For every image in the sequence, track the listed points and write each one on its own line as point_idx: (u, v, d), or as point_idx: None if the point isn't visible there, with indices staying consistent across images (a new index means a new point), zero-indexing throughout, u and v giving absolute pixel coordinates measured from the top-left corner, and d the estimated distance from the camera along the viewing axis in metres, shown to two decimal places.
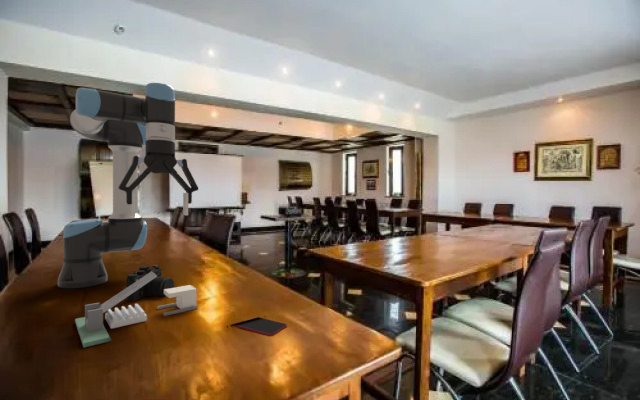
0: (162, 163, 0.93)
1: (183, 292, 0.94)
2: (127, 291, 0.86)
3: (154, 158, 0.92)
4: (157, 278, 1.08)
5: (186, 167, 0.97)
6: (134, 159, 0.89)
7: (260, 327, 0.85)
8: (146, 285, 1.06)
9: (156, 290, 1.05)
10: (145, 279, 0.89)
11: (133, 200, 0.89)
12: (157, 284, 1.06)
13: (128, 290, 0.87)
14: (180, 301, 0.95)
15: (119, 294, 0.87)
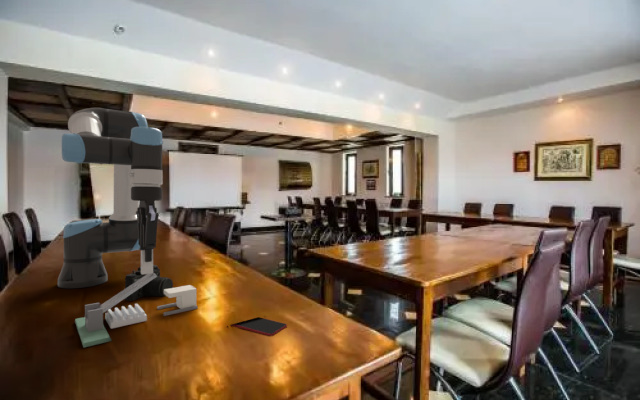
0: (142, 207, 0.89)
1: (183, 292, 0.94)
2: (127, 291, 0.86)
3: (140, 202, 0.91)
4: (156, 278, 1.08)
5: (146, 222, 0.85)
6: (136, 214, 0.93)
7: (260, 327, 0.85)
8: (145, 285, 1.06)
9: (155, 290, 1.05)
10: (145, 279, 0.89)
11: (141, 257, 0.89)
12: (156, 284, 1.06)
13: (128, 290, 0.87)
14: (180, 301, 0.95)
15: (119, 294, 0.87)
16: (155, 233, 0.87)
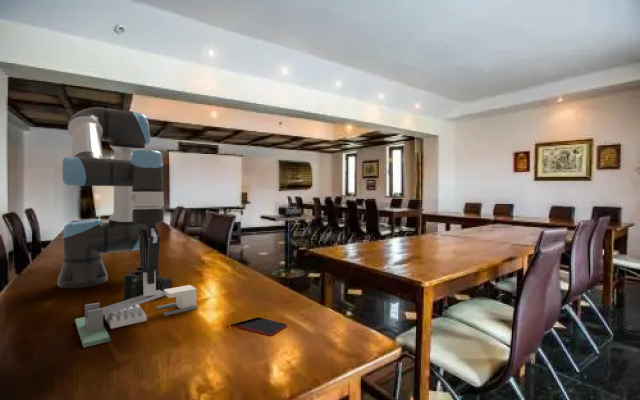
0: None
1: (183, 292, 0.94)
2: (132, 301, 0.87)
3: (141, 224, 0.91)
4: None
5: (148, 244, 0.86)
6: (138, 236, 0.94)
7: (260, 327, 0.85)
8: None
9: None
10: (152, 295, 0.90)
11: (143, 279, 0.90)
12: None
13: (134, 300, 0.88)
14: (180, 301, 0.95)
15: (123, 302, 0.87)
16: (157, 255, 0.87)
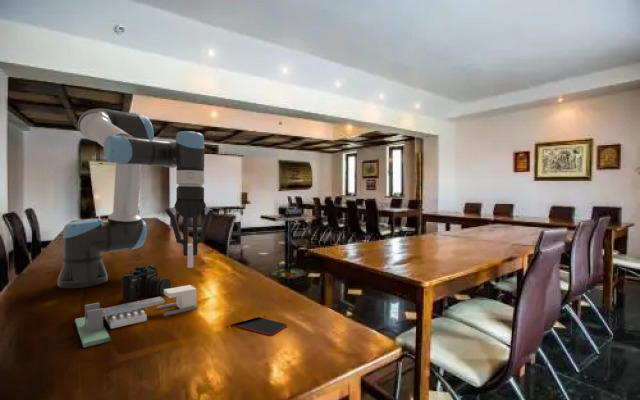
0: (192, 206, 0.96)
1: (183, 292, 0.94)
2: (133, 305, 0.87)
3: (181, 201, 0.95)
4: (153, 278, 1.08)
5: (208, 217, 0.98)
6: (168, 214, 0.94)
7: (260, 327, 0.85)
8: (142, 285, 1.06)
9: (153, 290, 1.05)
10: (153, 301, 0.91)
11: (188, 252, 0.96)
12: (153, 284, 1.06)
13: (134, 305, 0.88)
14: (180, 301, 0.95)
15: (124, 305, 0.87)
16: None
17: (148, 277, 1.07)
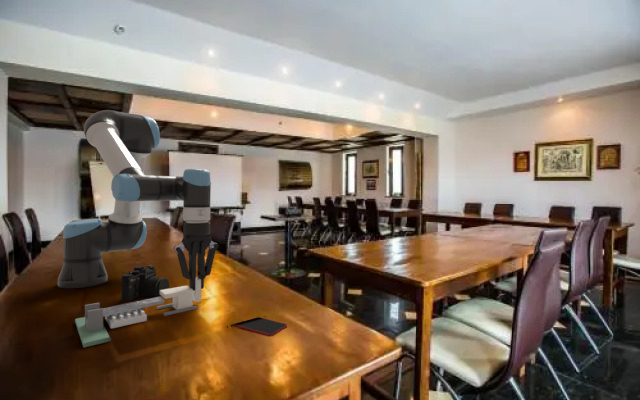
0: (199, 241, 0.98)
1: (179, 292, 0.93)
2: (133, 305, 0.87)
3: (190, 237, 0.96)
4: (152, 278, 1.08)
5: (214, 251, 1.01)
6: (178, 251, 0.94)
7: (260, 327, 0.85)
8: (141, 285, 1.06)
9: (152, 290, 1.05)
10: (153, 301, 0.91)
11: (197, 287, 0.98)
12: (152, 284, 1.06)
13: (134, 305, 0.88)
14: (177, 301, 0.94)
15: (124, 305, 0.87)
16: None
17: (146, 277, 1.07)
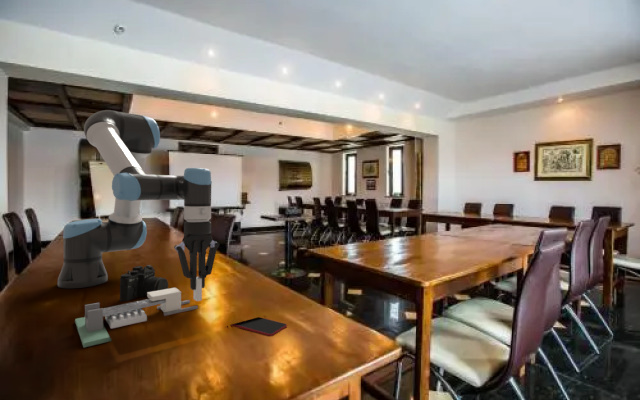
0: (200, 240, 0.98)
1: (166, 295, 0.91)
2: (133, 305, 0.87)
3: (190, 236, 0.96)
4: (151, 278, 1.07)
5: (215, 250, 1.01)
6: (179, 250, 0.94)
7: (260, 327, 0.85)
8: (140, 285, 1.06)
9: (150, 290, 1.05)
10: (153, 301, 0.91)
11: (197, 286, 0.98)
12: (151, 284, 1.06)
13: (134, 305, 0.88)
14: (164, 304, 0.92)
15: (124, 305, 0.87)
16: None
17: (145, 278, 1.07)
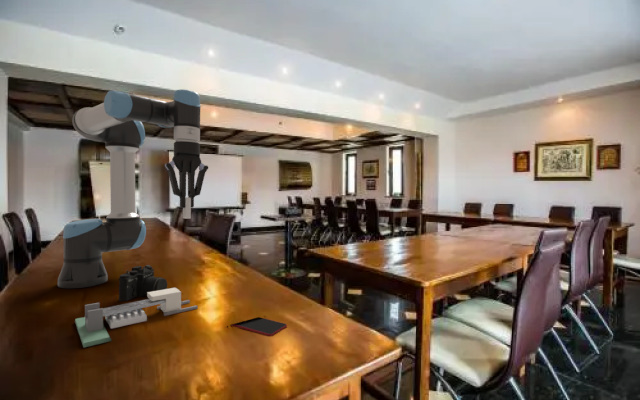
0: (189, 161, 1.03)
1: (166, 295, 0.91)
2: (133, 305, 0.87)
3: (180, 155, 1.01)
4: (150, 278, 1.07)
5: (203, 172, 1.05)
6: (168, 167, 0.98)
7: (260, 327, 0.85)
8: (139, 285, 1.06)
9: (149, 290, 1.05)
10: (153, 301, 0.91)
11: (186, 204, 1.02)
12: (150, 284, 1.06)
13: (134, 305, 0.88)
14: (164, 304, 0.92)
15: (124, 305, 0.87)
16: None
17: (144, 278, 1.07)
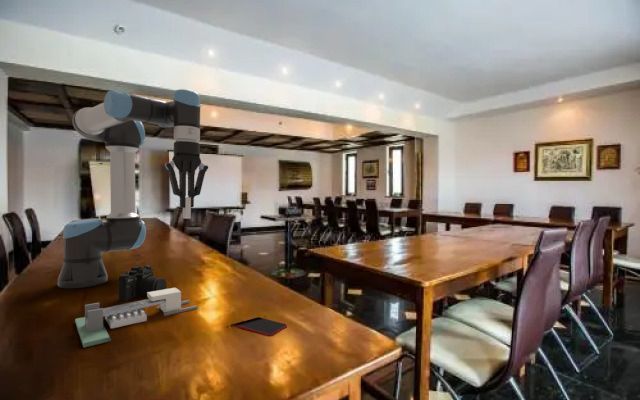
0: (189, 160, 1.03)
1: (166, 295, 0.91)
2: (133, 305, 0.87)
3: (180, 155, 1.01)
4: (149, 278, 1.07)
5: (203, 172, 1.05)
6: (168, 167, 0.98)
7: (260, 327, 0.85)
8: (138, 285, 1.06)
9: (149, 290, 1.05)
10: (153, 301, 0.91)
11: (186, 204, 1.02)
12: (149, 284, 1.06)
13: (134, 305, 0.88)
14: (164, 304, 0.92)
15: (124, 305, 0.87)
16: None
17: (144, 278, 1.07)
